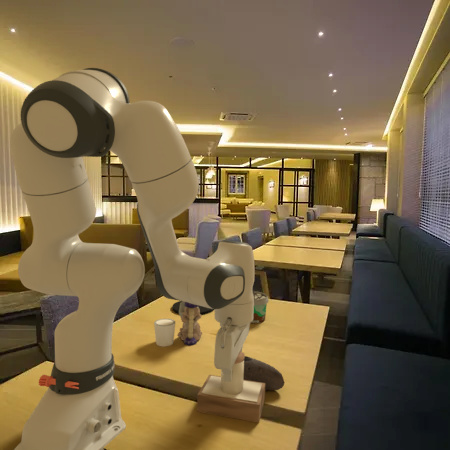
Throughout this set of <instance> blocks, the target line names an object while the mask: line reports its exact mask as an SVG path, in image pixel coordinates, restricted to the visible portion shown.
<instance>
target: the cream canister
mask: <svg viewBox="0 0 450 450" xmlns="http://www.w3.org/2000/svg"><path fill="white" fill-rule="evenodd" d="M245 356H246V355H245V353H244V352H243V350H242V351H240V352H239V354H238V357H237V359H236V361H235V363H234V365H233V367H232V371H233V378H232V380H231V382H225V381H224V380H223V372H222V370H221V369H220V370H221V371H220V376H221V390H222V391H223V392H225V393H227V394H238V393H241V392H242V391H243V383H244V359H245Z"/></svg>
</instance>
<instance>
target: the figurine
mask: <svg viewBox="0 0 450 450" xmlns="http://www.w3.org/2000/svg"><path fill="white" fill-rule="evenodd" d="M184 304H185V302H184V301H182V302H181V303H180V308H179V314H178V315H179V317H180V320H181V322H182V327H179V331H178V333H177V336H178V337H179V338H180V340H182V341H184V340H185V339H186V338H187V337H188V329H189V328H188V325H189V323H188V321H189V308H188V307H185V305H184ZM200 319H202V315H201V314H200V309H199V307H196V308H194V319H193V320H194V323H193V337H194V338H195V339H196V341H199V340H200V339H202V335H203V332H202V331H201V325H200V324H199V322H198V321H199V320H200Z"/></svg>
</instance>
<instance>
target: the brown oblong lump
mask: <svg viewBox="0 0 450 450" xmlns="http://www.w3.org/2000/svg"><path fill="white" fill-rule="evenodd" d="M244 380H247V381H254V382H261V383H265V391H278V390H281V389H282V388H283V387H284V386H285V381H284V380H285V379H284V376H283V375H282V372H280V371H279V370H278V369H276V368H275V367H274V366H272V365H270V364H269V363H266V362H264V361H261V360H258V359H256V358H254V357H250V356H247V355H245V359H244Z"/></svg>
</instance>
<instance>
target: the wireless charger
mask: <svg viewBox="0 0 450 450" xmlns="http://www.w3.org/2000/svg"><path fill="white" fill-rule="evenodd" d="M181 302H182V301H179V300H177V301H175V302H174V303H173V304H172V311H173V313H175V314H177V315H179V308H180V303H181ZM198 307H199V309H200V314H201V316H205V315H207V314H211V313H212V312H215V309H210V308H206V307H203V306H198Z"/></svg>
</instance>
